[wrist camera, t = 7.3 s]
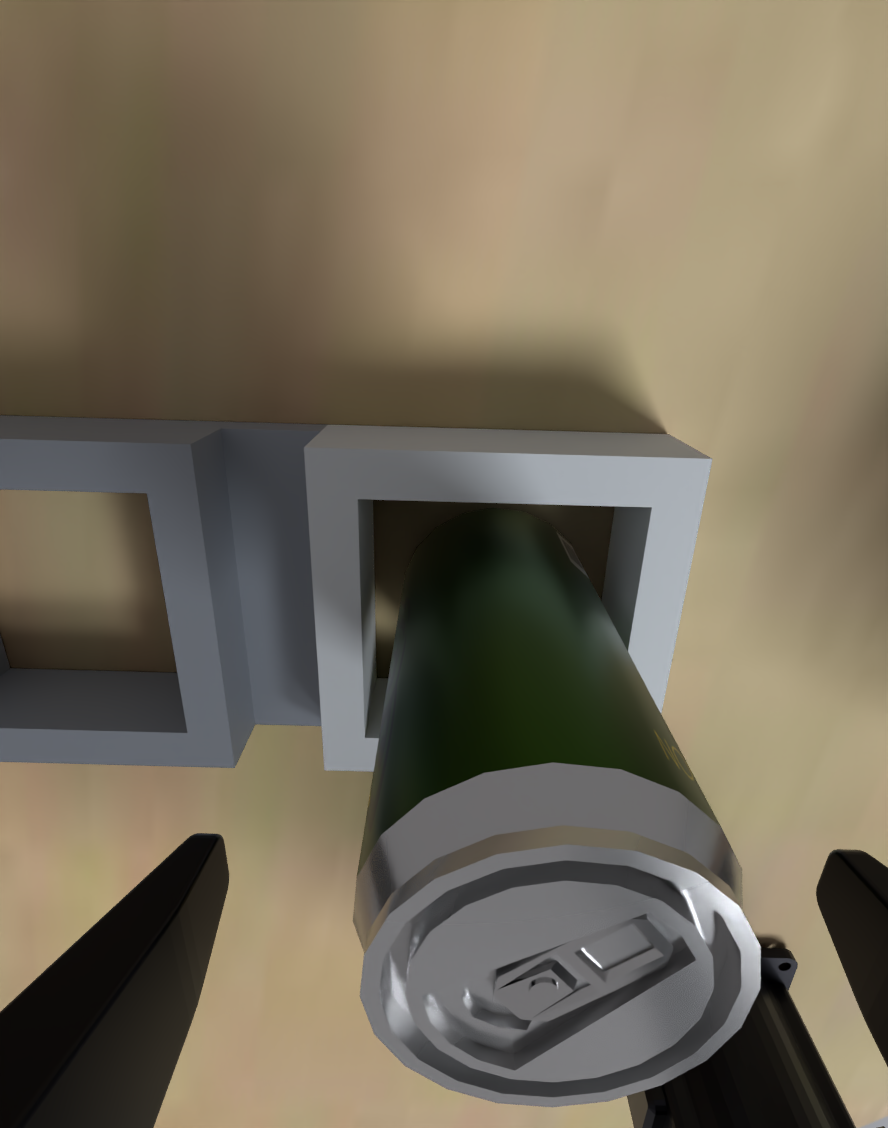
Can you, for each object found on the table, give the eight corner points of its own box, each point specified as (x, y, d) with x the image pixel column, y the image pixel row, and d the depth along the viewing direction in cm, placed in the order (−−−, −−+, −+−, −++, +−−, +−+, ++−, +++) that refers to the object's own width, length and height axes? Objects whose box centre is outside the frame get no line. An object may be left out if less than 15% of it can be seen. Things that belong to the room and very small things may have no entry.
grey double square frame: (668, 434, 17) (712, 458, 14) (621, 715, 20) (648, 778, 18) (-109, 412, 17) (-220, 433, 14) (-17, 697, 20) (-91, 759, 18)
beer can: (512, 462, 17) (633, 745, 6) (613, 597, 19) (857, 1017, 8) (367, 570, 18) (247, 966, 7) (474, 688, 20) (509, 1157, 9)
